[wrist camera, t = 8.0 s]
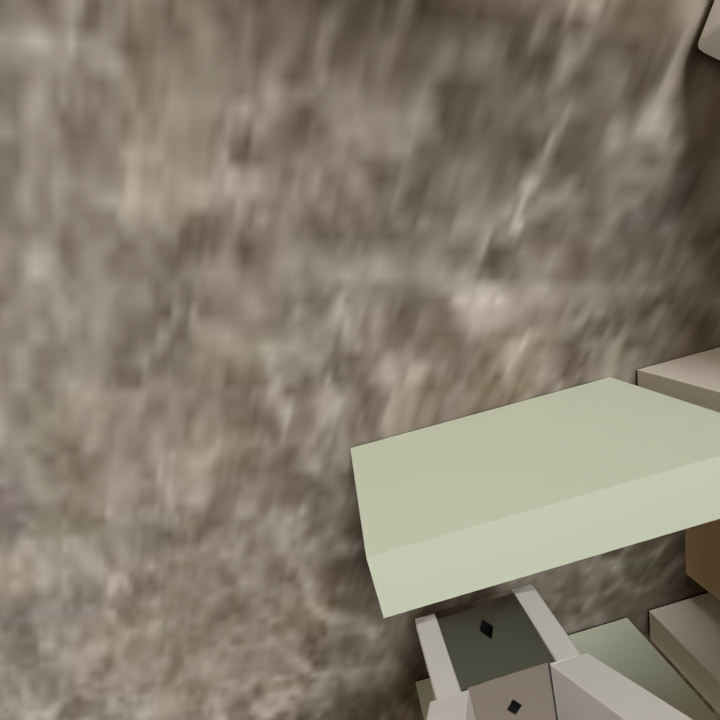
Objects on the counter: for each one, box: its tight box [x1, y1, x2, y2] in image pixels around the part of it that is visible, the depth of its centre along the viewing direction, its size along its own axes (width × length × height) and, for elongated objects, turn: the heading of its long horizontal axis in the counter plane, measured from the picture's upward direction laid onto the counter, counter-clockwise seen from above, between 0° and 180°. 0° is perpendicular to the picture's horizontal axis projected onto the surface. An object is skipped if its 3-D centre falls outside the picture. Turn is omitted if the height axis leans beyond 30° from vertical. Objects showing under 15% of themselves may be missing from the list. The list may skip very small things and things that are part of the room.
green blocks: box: [350, 377, 720, 720], centre depth 8 cm, size 7×9×4 cm
